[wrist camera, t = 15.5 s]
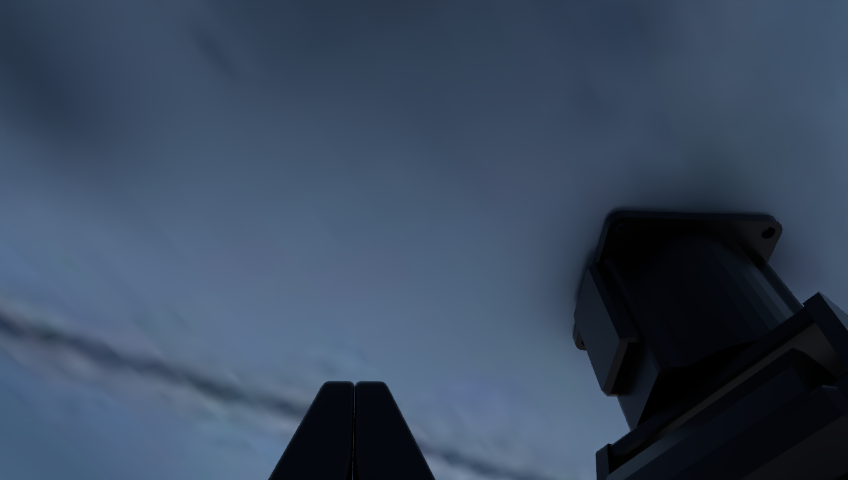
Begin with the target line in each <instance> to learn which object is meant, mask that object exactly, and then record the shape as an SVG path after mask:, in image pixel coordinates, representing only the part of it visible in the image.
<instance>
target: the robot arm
mask: <svg viewBox="0 0 848 480" xmlns="http://www.w3.org/2000/svg"><path fill="white" fill-rule="evenodd" d="M620 223H625V225H624V226H623V227H621V228H617V229H616V226H617V225H619V224H620ZM766 228H768V230H767V231H765V232H763V230H765V229H766ZM781 232H782V226H781V224H780V223H779V222H778V221H777V220H776V219H775V218H774V217H772V216H766V215H734V214H703V213H671V212H640V211H618V212H615V213H613V214H611V215H610V216H609V217H608V218H607V220H606V222H605V225H604V228H603V232H602V235H601V239H600V242H599V246H598V249H597V253H596V256H595V259H594V262H592V263H591V264H590V265H589V266H588V267H587V269H586V273H585V276H584V280H583V284H582V287H581V291H580V294H579V298H578V301H577V305H576V308H575V312H574V318H575V321H576V326H575V329H574V333H573V339H574V342H575V345H576V347H577V348H578V349H580V350H587V353H588V356H589V358H590V361H591V364H592V366H593V369H594V372H595V374H596V377H597V380H598V382H599V385H600V388H601V390H602V391H603V392H604V393H605V394H606V395H607V396H617V398H618V401H619V403H620V406H621V408H622V411H623V413H624V416H625V418H626V421H627V423H628V426H629V428H630V432H629V433H627V434H626V435H625V436H623V437H622V438H620V439H619V440H618V441H616V442H615V443H613V444H607V445H606V446H604V447H603V448H601V449H600V450H599V451H597V452H596V472H597V480H848V315H847V314H846V313H845V312H844V311H842V310H841V309H840V308H839V307H837V306H836V305H835V304H834V303H833V302H831V301H830V300H829V299H828V298H826V297H825V296H824V295H823V294H822V293H820V292H818V293H816V294H815V295H814V296H812V297H811V298H810V299H808V300H807V301H805V302H804V303H803V305H804V307H803V306H802V305H801V304H800V302H799V301H798V300H797V299H796V298H795V296H794V295H793V294H792V293H791V291H790V290H789V289H788V288H787V286H786V285H785V284H784V283H783V282H782V280H781V279H780V278H779V277H778V275H777V274H776V273H775V272H774V271H773V269H772V268H771V267H770V266H769V264H768V263H767V262H768V260H769V258H770V256H771V254H772V252H773V250H774V248H775V245H776V243H777V241H778V239H779V237H780V235H781ZM354 395H355V408H354ZM353 435H354V445H353ZM352 474H353V480H435V478H434V476H433V474H432V472H431V470H430V468H429V466H428V464H427V462H426V460H425V458H424V456H423V454H422V452H421V450H420V449H419V447H418V445H417V443H416V441H415V439H414V437H413V435H412V433H411V431H410V429H409V427H408V425H407V423H406V421H405V419H404V417H403V415H402V413H401V411H400V409H399V408H398V406H397V404H396V402H395V400H394V398H393V396H392V394H391V392H390V390H389V388H388V386H387V385H386V384H385V383H384V382H381V381H360V382H358V383H357V384H356V385H355V386H354V384H353V383H352V382H350V381H328V382H325V383H324V384H323V385H322V387H321V388H320V390H319V392H318V394H317V395H316V397H315V399H314V401H313V402H312V404H311V406H310V408H309V409H308V411H307V413H306V415H305V416H304V418H303V420H302V422H301V423H300V425H299V427H298V428H297V430H296V432H295V434H294V435H293V437H292V439H291V441H290V442H289V444H288V446H287V448H286V449H285V451H284V453H283V455H282V456H281V458H280V460H279V462H278V463H277V465H276V467H275V469H274V470H273V472H272V474H271V476H270V477H269V479H268V480H352Z"/></svg>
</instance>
